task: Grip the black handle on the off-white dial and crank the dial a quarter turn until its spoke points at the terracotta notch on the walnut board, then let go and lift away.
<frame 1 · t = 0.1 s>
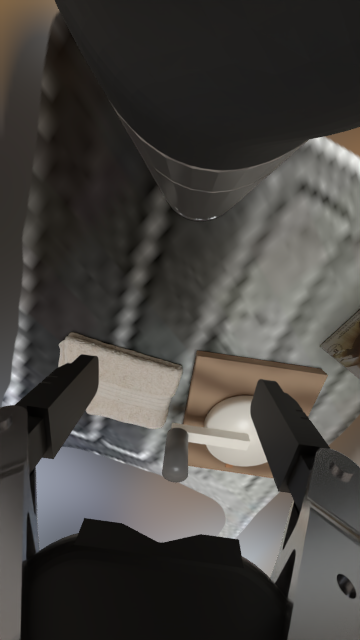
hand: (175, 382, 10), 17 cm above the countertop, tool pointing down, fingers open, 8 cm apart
dial board: (240, 417, 33), on the countertop
dial: (230, 449, 27), point 6 cm above the countertop, hinge at -90.0°
washcloth: (120, 376, 32), on the countertop
coffee box: (359, 333, 27), on the countertop
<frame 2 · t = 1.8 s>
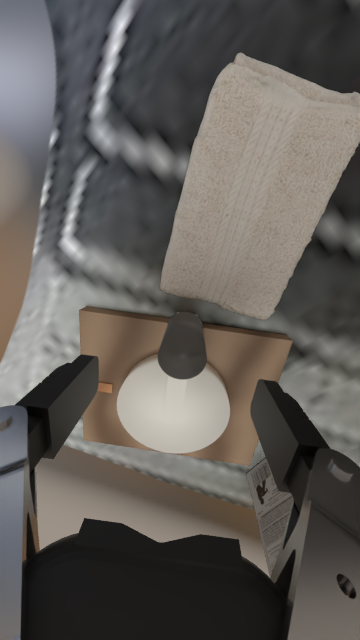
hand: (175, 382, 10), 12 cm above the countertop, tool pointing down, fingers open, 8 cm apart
dial board: (175, 388, 25), on the countertop
dial: (173, 405, 19), point 6 cm above the countertop, hinge at -90.0°
washcloth: (244, 215, 19), on the countertop
coffee box: (283, 474, 29), on the countertop
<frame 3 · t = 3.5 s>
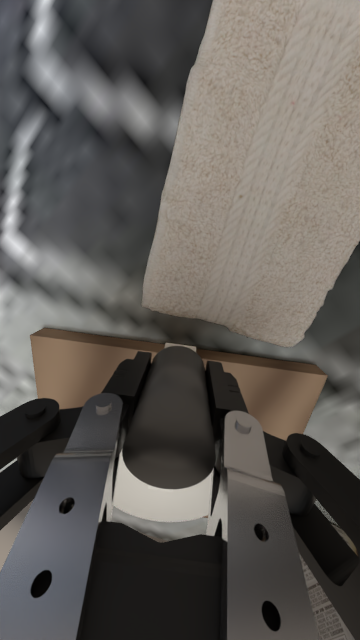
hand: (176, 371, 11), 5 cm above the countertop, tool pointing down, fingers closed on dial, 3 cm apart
dial board: (167, 431, 19), on the countertop
dial: (162, 477, 13), point 6 cm above the countertop, hinge at -90.0°, touching gripper
washcloth: (261, 200, 13), on the countertop
coffee box: (303, 529, 23), on the countertop
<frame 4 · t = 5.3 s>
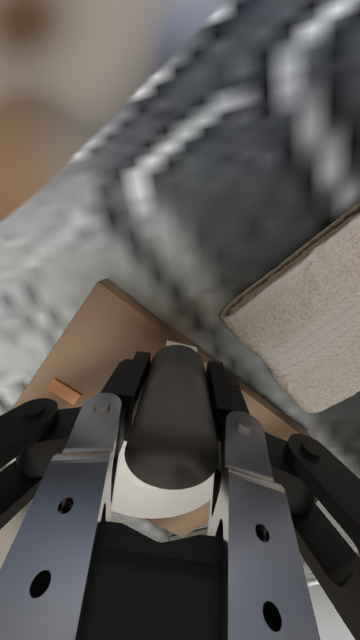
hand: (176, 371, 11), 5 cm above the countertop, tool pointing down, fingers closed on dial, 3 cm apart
dial board: (153, 428, 19), on the countertop
dial: (148, 474, 13), point 6 cm above the countertop, hinge at -64.8°, touching gripper
washcloth: (357, 291, 15), on the countertop
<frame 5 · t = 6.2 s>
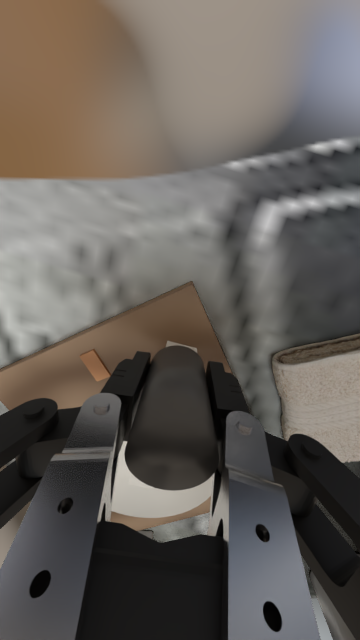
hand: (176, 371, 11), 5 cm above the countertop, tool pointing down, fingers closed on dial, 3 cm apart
dial board: (151, 427, 19), on the countertop
dial: (146, 474, 13), point 6 cm above the countertop, hinge at -40.0°, touching gripper
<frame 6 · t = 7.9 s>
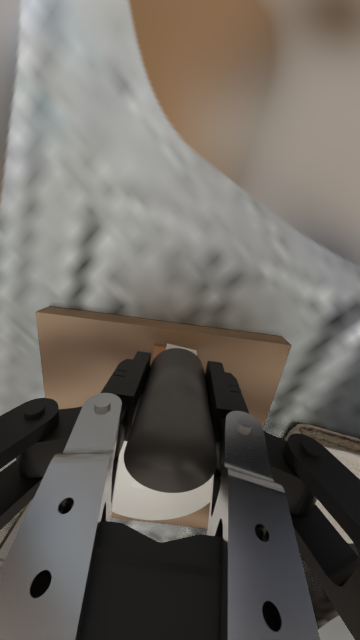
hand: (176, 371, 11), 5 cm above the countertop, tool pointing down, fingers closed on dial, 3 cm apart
dial board: (154, 430, 19), on the countertop
dial: (149, 476, 13), point 6 cm above the countertop, hinge at -6.6°, touching gripper
washcloth: (339, 476, 21), on the countertop
coffee box: (45, 521, 25), on the countertop
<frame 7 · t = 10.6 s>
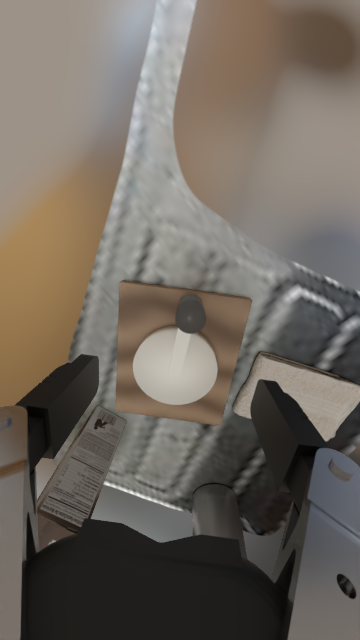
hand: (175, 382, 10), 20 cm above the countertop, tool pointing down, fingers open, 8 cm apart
dial board: (176, 357, 32), on the countertop
dial: (177, 361, 26), point 6 cm above the countertop, hinge at -4.4°
washcloth: (291, 392, 34), on the countertop
coffee box: (102, 427, 38), on the countertop
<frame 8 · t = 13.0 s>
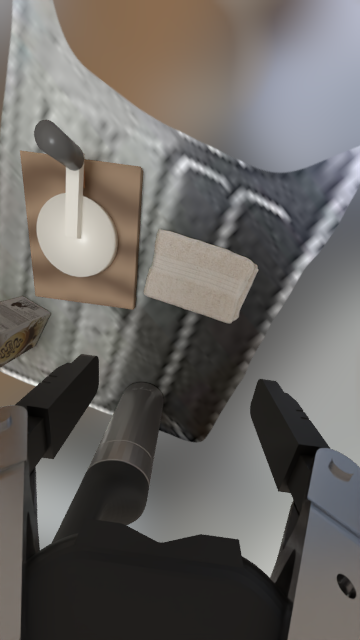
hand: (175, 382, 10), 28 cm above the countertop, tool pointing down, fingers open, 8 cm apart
dial board: (86, 238, 35), on the countertop
dial: (67, 215, 28), point 6 cm above the countertop, hinge at -4.4°
washcloth: (198, 278, 37), on the countertop
coffee box: (30, 321, 41), on the countertop
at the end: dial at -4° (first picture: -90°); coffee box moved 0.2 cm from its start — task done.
